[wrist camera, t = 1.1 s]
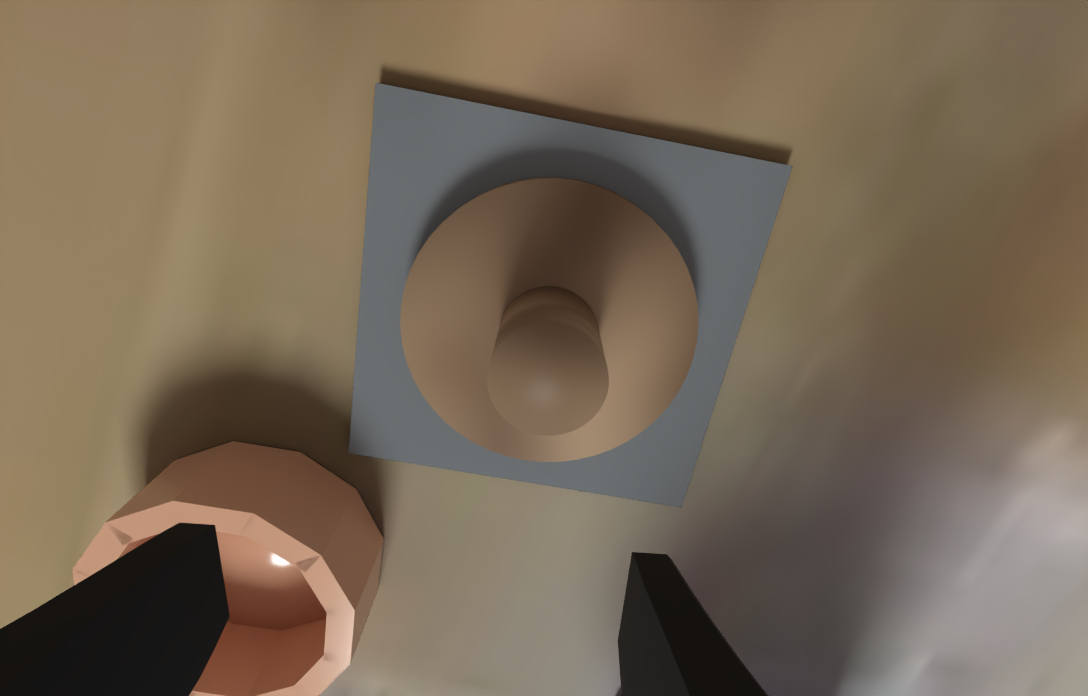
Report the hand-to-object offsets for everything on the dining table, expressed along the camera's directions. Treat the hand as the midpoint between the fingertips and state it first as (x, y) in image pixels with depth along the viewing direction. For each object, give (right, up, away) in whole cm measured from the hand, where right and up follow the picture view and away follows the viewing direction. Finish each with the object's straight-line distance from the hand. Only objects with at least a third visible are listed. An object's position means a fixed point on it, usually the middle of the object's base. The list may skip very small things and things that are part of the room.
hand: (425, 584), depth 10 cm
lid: (+2, +5, +8) cm, 10 cm away
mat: (+2, +5, +9) cm, 10 cm away
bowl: (-9, -3, +12) cm, 15 cm away
